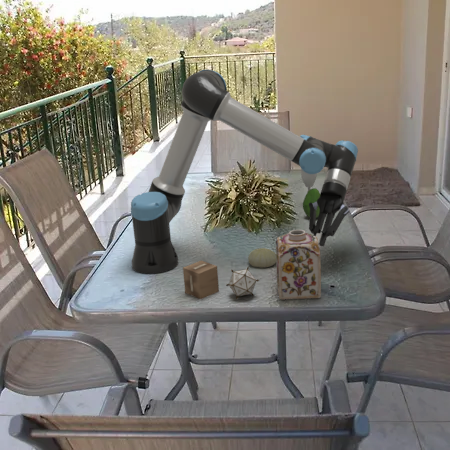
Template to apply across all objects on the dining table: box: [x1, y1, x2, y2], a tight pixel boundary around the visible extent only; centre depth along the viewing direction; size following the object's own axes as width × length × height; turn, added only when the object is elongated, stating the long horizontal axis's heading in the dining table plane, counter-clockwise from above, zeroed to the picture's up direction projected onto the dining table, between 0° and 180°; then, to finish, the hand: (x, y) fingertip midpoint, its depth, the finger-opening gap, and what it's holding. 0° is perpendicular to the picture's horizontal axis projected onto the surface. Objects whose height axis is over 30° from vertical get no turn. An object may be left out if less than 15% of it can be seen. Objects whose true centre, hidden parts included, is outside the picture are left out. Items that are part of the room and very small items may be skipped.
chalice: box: [300, 168, 318, 193], centre depth 241 cm, size 7×7×18 cm
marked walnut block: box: [182, 260, 220, 300], centre depth 170 cm, size 7×7×8 cm
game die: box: [225, 266, 260, 300], centre depth 166 cm, size 9×8×10 cm
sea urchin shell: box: [247, 247, 276, 269], centre depth 188 cm, size 9×8×8 cm
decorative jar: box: [275, 229, 322, 301], centre depth 165 cm, size 12×12×18 cm
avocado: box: [302, 187, 321, 219], centre depth 229 cm, size 8×8×12 cm
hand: (314, 254), depth 175 cm, fingers closed
